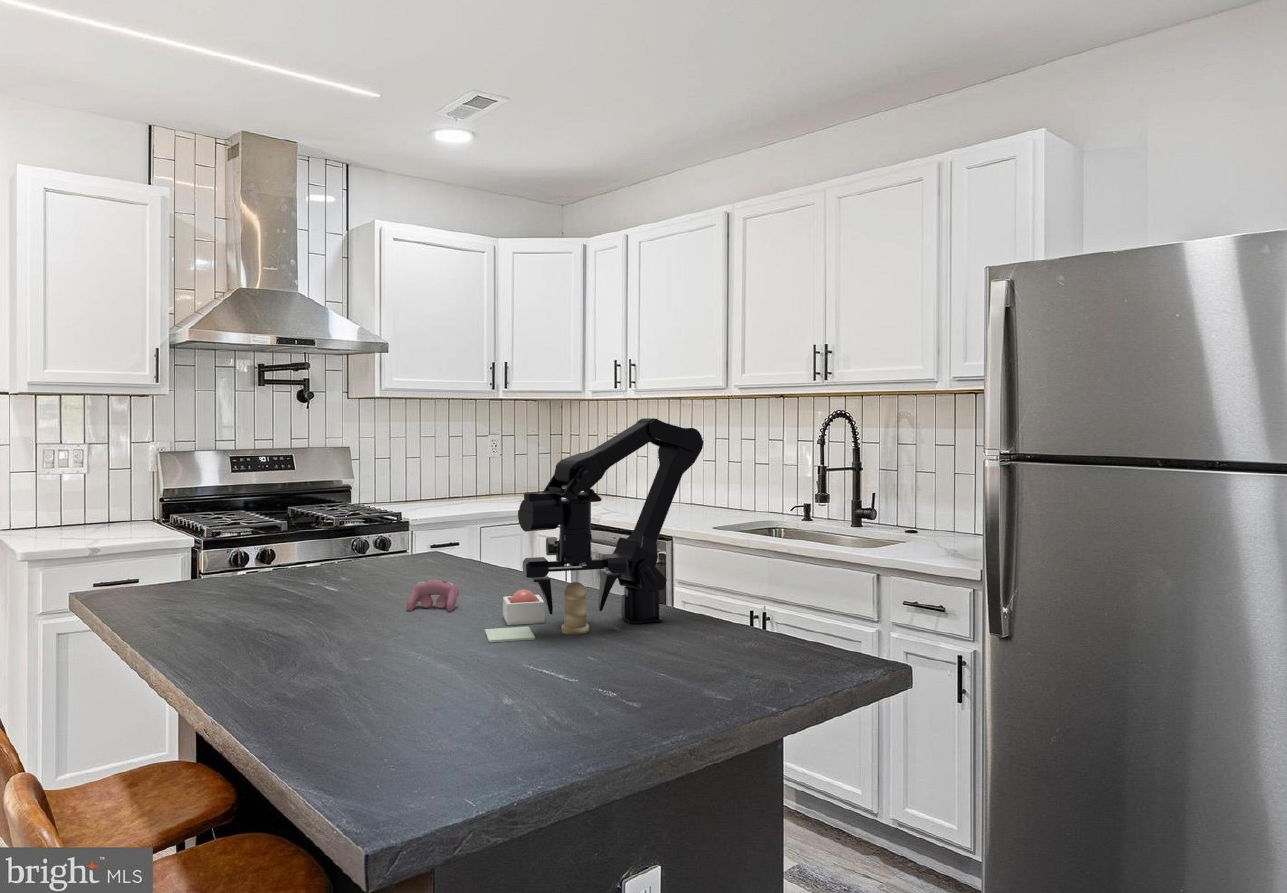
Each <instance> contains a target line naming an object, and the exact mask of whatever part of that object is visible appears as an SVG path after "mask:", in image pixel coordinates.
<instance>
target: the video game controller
mask: <svg viewBox="0 0 1287 893" xmlns="http://www.w3.org/2000/svg"><path fill="white" fill-rule="evenodd" d="M459 593H460V591H459V588H458V587H457V586H456V585H455V584H453V583H452V582H450V581H445V580H442V579H428V580H427V581H418V582H417V583H416V585H414V586H413V587H412V589H411V592H410V594H409V596H408V599H407V601H406V609H407V611H409V612H411V611H413V610H414V609H415V607H416V606H417V605H418V603H419V602H420V605H421V606H422V607H423V608H424V609H430V608H431V607H433V605H434V601H433V598H432V596H438V597H437V598H436V600H435V606H436V607H437V608H439V609H442V610H443V609H446V610H447V611H448V612H449V613H451V612H452V611H454V609H455V607H456V604H457V599H458V597H459V595H460V594H459Z"/></svg>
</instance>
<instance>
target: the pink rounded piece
mask: <svg viewBox="0 0 1287 893" xmlns="http://www.w3.org/2000/svg"><path fill="white" fill-rule="evenodd" d="M534 595H535V594H534V593H533V592H532V591H530V590H528V589H524V588H523V589H519V590H517V591H515V593H513V595H512V598H511V602H510V603H523V602H536V598H535V596H534Z"/></svg>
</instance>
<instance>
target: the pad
mask: <svg viewBox="0 0 1287 893" xmlns="http://www.w3.org/2000/svg"><path fill="white" fill-rule="evenodd" d="M484 633H485V636H486V637H487V641H488V643H502V642H505V643H506V642H518V641H530V640H532V641H533V640H536V637H535V635H534V633H533V631H532V630H531V628H530V626H517V627H516V626H515V627H500V628H499V627H498V628H486V629H484Z"/></svg>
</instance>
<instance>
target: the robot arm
mask: <svg viewBox="0 0 1287 893" xmlns="http://www.w3.org/2000/svg"><path fill="white" fill-rule="evenodd" d="M702 437H703V436H702V434H701V433H700V431H699V430H698V429H697V428H694V427H680V426H678V425H674V424H671V423H668V422H664V421H662V420H660V419H659V418H654V417H653V418H650V417H649V418H646V417H645V418H640V419H639V420H637V422H635V423H634V424H632V425H631V426H630V427H628V428H626V429H624V430H623V431H621V432H619V433H618V434H616V435H614V436H613V437H611V438H610V439H608V440H607V441H604V442H603V443H602V444H599V445H598V446H596V447H595V448H593V449H591V450H588V451H583V452H580V453H576V454H574V455H573V454H572V455H571V456H567V457H565V458H562V459H561V460H559V462H557V463H556V465H555V469H554V473H553V475H552V477H551V478H550V480H549V482H548V483H547V485H546V487H545V488H544V489H543V491H542V492H524V493H523V499H522V501H520V505H519V508H518V510H517V519H518V524H519V525H520V528H521V529H522V531H524V532H526V533H528V532H537V531H546V530H548V531H550V530H556V529H557V528H558V527H559V536H558V537H559V538H557V537H556V536H552V537H545V554H546V556H547V557H548V556H555V560H554V561H552V560H550V561H549V560H548V559H546V558H545V557H543V556H540V557H539V556H538V557H537V556H536V557H525V558H524V560H522V574H523V575H524V576H525V578H526V579H527V578H528V579H531V581H532V582H533V583H537V584H538V586H539V588H540V590H541V591H542V595H543V598H544V602H545V604H546V607H547V610H548V613H549V614H550V615H553V611H554V605H553V604H554V603H553V596H552V595H553V593H552V582H551V578H550V577H549V576H548V574H549V573H551V572H569V571H592V570H599V592H598V602H597V603H598V611H599V612H602V611H603V609H604V607H605V605H606V602H607V599H608V596H609V594H610V592H611V589H612V588H613V586H614V584H615V583H616V581H617V580H618V584H619V586H621V587H623V594H622V595H621V596H620V597H621V600H620V601H621V604H620V605H621V608H620V609H621V617H622V619H624V620H625V621H626V622H627V623H628V624H642V623H643V624H644V623H645V624H646V623H658V622H659V623H660V622H663V618H662V617H661V616H660V591H664V590H665V587H666V585H667V581H668V580H667V578H666V577H665V575H663V574H662V572H661V571H660V570H659V569H658V568H657V564H658V563H657V562H658V558H659V554H658V553H659V552H658V544H657V543H658V539H659V536H660V535H661V534H660V533H661V531H662V529H663V526H664V524H665V521H666V519H667V518H666V517H667V515H668V513H669V510H670V508H671V505H672V503H673V501H674V498H675V495H676V492H677V490H678V488H679V484H680V482H681V480H682V477H683V475H684V474H685V473H686V472H687V471H688V469H690V468H691V467H692V466H693V465H694V464H695V463H696V461H697V459H698V457H699V456H700V454H701V452H702V449H703V448H704V440H703V438H702ZM649 443H650V444H652V445H654V446H657V447H658V450H657V451H658V452H657V454H658V463H659V464H658V467H657V471H656V474H655V476H654V478H653V480H652V484H651V486H650V488H649V491H648V493H647V496H646V498H645V502H644V504H643V506H642V509H641V511H640V513H639V516H638V519H637V521H636V524H635V527H634V530H633V532H632V533H631V534H629V536H628V537H627V538H626V537H621V536H619V538H618V540H617V542H616V546H615V549H614V550H613V552H612V553H606V554H605V553H603V554H601V557H600V558H595V559H594V558H593V556H592V540H593V537H592V536H593V535H592V503H598V502H599V503H600V502H602V499H603V498H602V497H600V495H598V494H597V493H596V492H595V490H594V488H593V487H594V486H595V485H596V484H597V483H598V482H600V481H601V479H603V478H604V476H605V474H606V472H607V471H608V470H609V469H610V468H612V467H613V466H614V465H615V464H617V463H618V462H621V461H622V460H624V459H625V458H627V457H628V456H630V455H632V454H633V453H634V452H636V451H638V450H639V449H641V448H643V447H644V446H646V445H647V444H649Z"/></svg>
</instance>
